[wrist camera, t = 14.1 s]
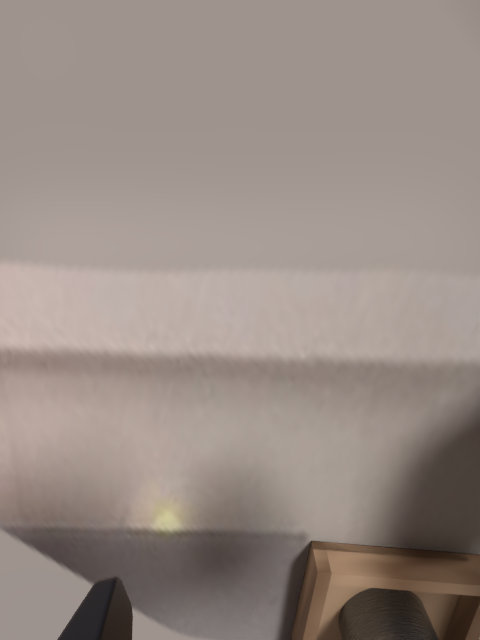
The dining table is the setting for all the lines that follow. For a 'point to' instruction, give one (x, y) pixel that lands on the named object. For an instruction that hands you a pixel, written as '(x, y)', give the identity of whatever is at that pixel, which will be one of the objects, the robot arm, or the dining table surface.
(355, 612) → the tea tin
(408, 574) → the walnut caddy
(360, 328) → the dining table surface
